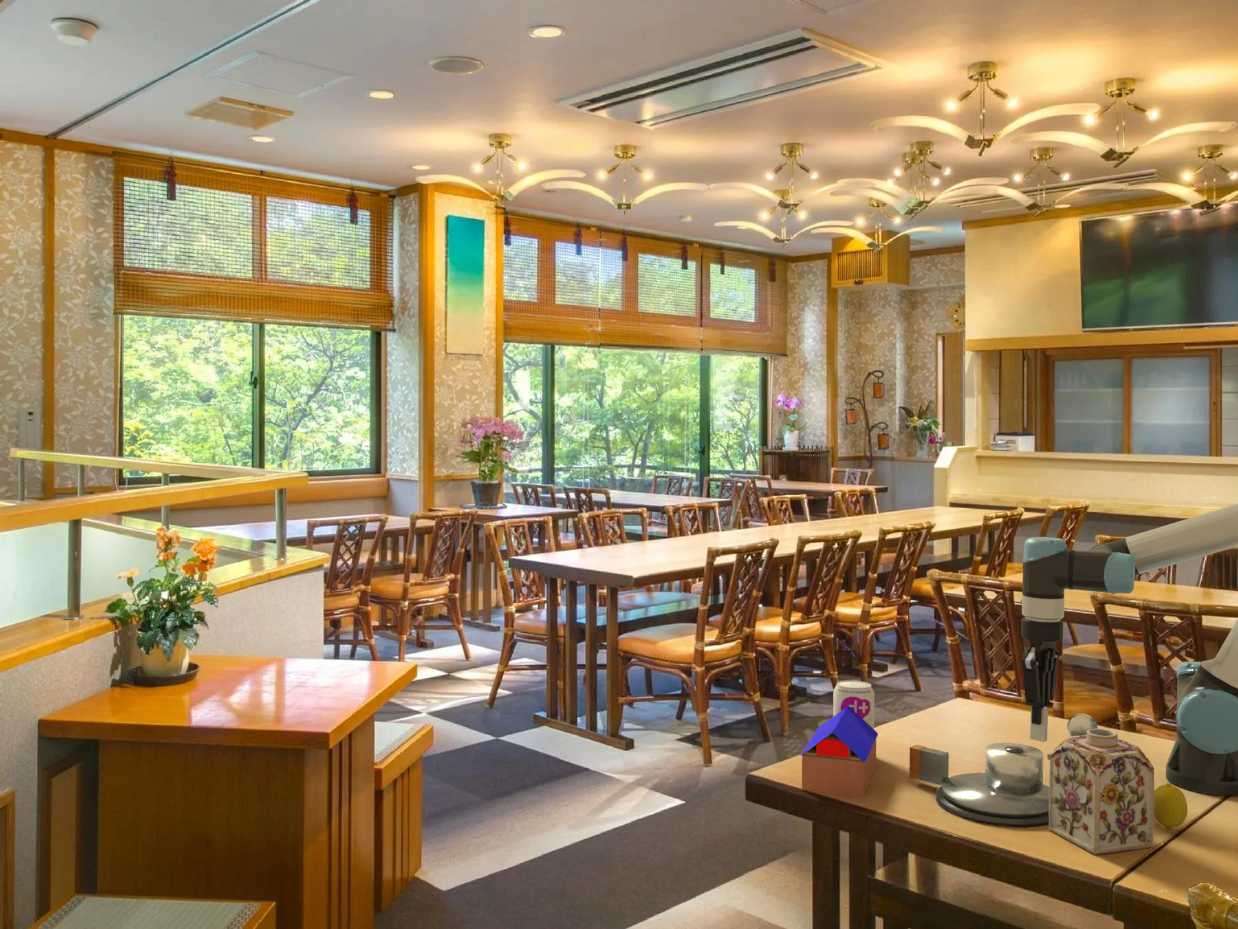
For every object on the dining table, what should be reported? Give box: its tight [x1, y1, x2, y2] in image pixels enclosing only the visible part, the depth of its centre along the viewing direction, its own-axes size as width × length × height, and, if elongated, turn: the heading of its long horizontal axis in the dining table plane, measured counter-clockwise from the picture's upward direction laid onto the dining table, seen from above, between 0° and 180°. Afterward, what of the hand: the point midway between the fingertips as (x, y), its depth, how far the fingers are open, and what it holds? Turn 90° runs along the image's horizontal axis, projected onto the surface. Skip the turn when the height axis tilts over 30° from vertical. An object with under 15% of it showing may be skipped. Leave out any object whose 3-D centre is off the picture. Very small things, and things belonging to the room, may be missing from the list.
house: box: [800, 706, 879, 798], centre depth 209 cm, size 12×20×12 cm, turn 160°
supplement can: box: [832, 680, 875, 730], centre depth 222 cm, size 8×8×15 cm
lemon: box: [1154, 782, 1188, 831], centre depth 182 cm, size 6×6×8 cm
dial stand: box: [1047, 713, 1099, 761], centre depth 196 cm, size 8×4×16 cm, turn 86°
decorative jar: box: [1048, 728, 1155, 856], centre depth 178 cm, size 12×12×18 cm
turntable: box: [908, 744, 1049, 818], centre depth 197 cm, size 27×20×6 cm
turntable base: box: [935, 785, 1049, 828], centre depth 194 cm, size 22×22×1 cm
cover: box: [984, 742, 1044, 792], centre depth 198 cm, size 10×10×6 cm
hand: (1038, 739), depth 207 cm, fingers closed
